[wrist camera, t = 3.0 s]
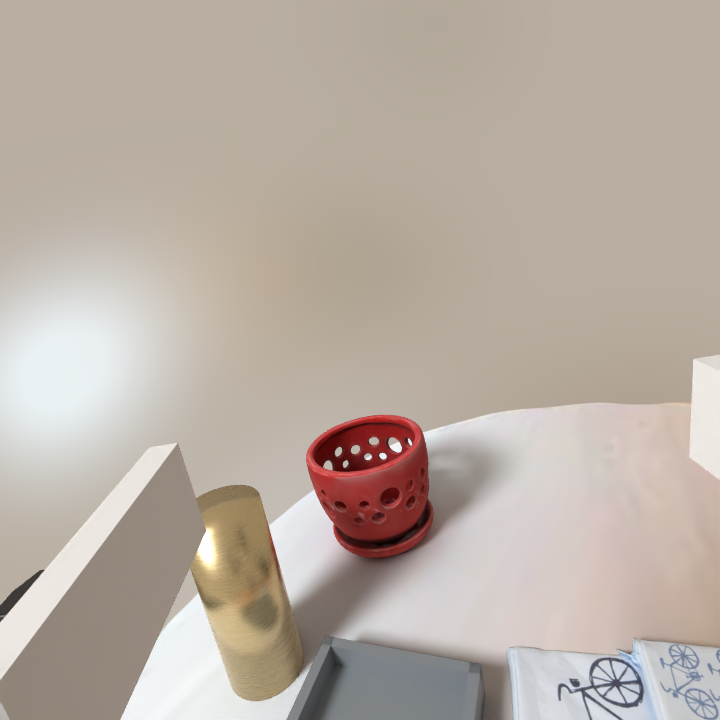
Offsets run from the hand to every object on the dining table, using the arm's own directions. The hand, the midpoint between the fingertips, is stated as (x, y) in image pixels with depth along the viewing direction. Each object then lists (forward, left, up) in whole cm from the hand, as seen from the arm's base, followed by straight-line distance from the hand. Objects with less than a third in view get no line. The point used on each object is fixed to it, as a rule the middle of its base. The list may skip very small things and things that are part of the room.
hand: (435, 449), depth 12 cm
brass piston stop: (-14, -21, -30) cm, 39 cm away
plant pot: (-32, -16, -30) cm, 47 cm away
